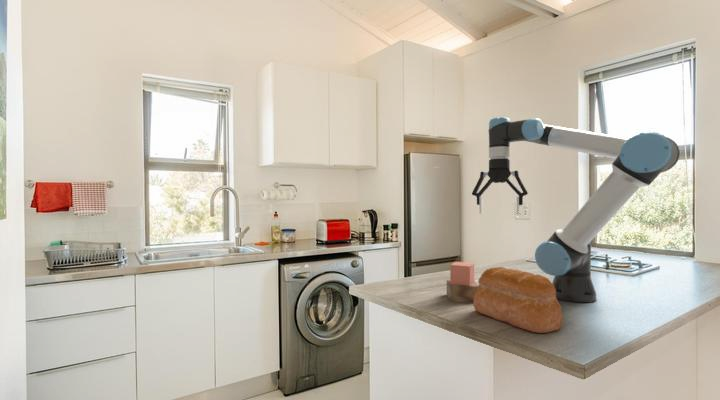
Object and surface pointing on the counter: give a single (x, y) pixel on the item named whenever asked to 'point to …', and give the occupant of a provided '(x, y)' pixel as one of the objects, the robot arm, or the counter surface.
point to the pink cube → (462, 273)
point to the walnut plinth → (461, 292)
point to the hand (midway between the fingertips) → (499, 213)
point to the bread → (519, 299)
